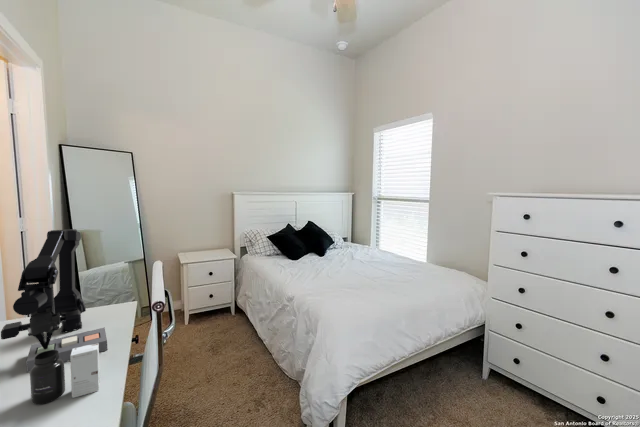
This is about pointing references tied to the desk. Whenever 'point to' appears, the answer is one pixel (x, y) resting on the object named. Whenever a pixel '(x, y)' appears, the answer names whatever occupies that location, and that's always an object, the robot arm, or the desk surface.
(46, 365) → the supplement bottle
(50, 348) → the sage key
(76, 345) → the keyguard
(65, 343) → the cream key
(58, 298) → the robot arm
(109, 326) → the desk surface
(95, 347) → the skincare box
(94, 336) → the terracotta key
